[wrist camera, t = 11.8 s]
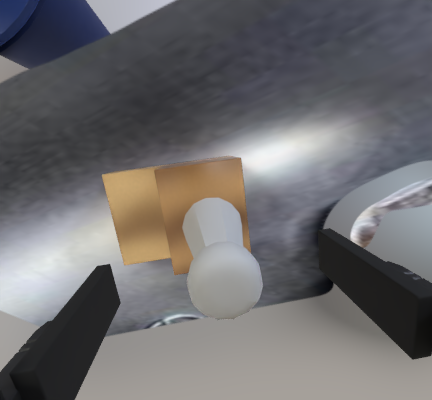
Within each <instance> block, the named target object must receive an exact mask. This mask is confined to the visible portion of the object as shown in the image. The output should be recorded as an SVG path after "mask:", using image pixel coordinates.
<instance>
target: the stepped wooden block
mask: <svg viewBox="0 0 432 400" xmlns="http://www.w3.org/2000/svg"><path fill="white" fill-rule="evenodd" d="M102 178H103V182H104V186H105V190H106V194H107V198H108V202H109V206H110V210H111V214H112V218H113V222H114V226H115V230H116V234H117V238H118V242H119V246H120V250H121V254H122V258H123V262H124V265H130V264H136V263H142V262H148V261H154V260H161V259H167V258H171V260H172V265H173V271H174V275H178V274H184V273H189V269H190V265H191V261H192V260H193V259H194V258H193V256H192V253H191V250H190V248H189V246H188V243H187V241H186V238H185V235H184V232H183V229H182V226H183V222H184V218H185V214H186V213H187V212H188V211H189V209H190V208H191V207H192V205H193V204H194V203H196V202H198V201H200V200H203V199H205V198H221V199H223V200H225V201H227V202H229V203H231V204H232V205H233V206H234V207H235V209H236V210H237V211H238V212H239V214H240V218H241V223H242V233H243V247H245V248H246V249H247V250H248V251H249V252H250V253H251V249H250V239H249V230H248V220H247V211H246V201H245V191H244V182H243V172H242V163H241V158H238V157H233V156H225V157H217V158H210V159H203V160H196V161H189V162H181V163H174V164H167V165H160V166H152V167H145V168H138V169H131V170H124V171H116V172H111V173H107V174H103V175H102Z"/></svg>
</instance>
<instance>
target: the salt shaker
mask: <svg viewBox="0 0 432 400" xmlns="http://www.w3.org/2000/svg"><path fill="white" fill-rule="evenodd" d="M182 229H183V232H184V235H185V238H186V241H187V243H188V246H189V248H190V250H191V253H192V256H193V258H194V259H193V260H192V261H191V265H190V269H189V273H188V278H187V286H188V290H189V294H190V297H191V300H192V304H193V305H194V306H195V307H196V308H197V309H198V310H199V311H200V312H201V313H202V314H203V315H206V316H209V317H212V318H215V319H218V320H219V319H234V318H236V317H238V316H240V315H243V314H245V313H247V312H248V311H249V310H250V309H251V308H252V307H253V306H254V305H255V304H256V303H257V302H258V301H259V298H260V295H261V291H262V288H263V283H262V277H261V272H260V267H259V264H258V262H257V261H256V259H255V258H254V257H253V256H252V254H251V253H250V252H249V251H248V250H247V249H246V248H245V247H243V233H242V223H241V218H240V214H239V212H238V211H237V210H236V209H235V207H234V206H233V205H232V204H231V203H229V202H227V201H225V200H223V199H221V198H205V199H203V200H200V201H198V202H196V203H194V204H193V205H192V207H191V208H190V209H189V211H188V212H187V213H186V214H185V218H184V222H183V226H182Z"/></svg>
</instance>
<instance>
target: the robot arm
mask: <svg viewBox="0 0 432 400" xmlns="http://www.w3.org/2000/svg"><path fill="white" fill-rule="evenodd" d="M318 233H319V269H320V270H321V271H322V272H323V273H324V274H325V275H326V276H327V277H328V278H329V279H331V280H332V281H333V282H334V283H335V284H336V285H337V286H338V287H339V288H340V289H341V290H342V291H343V292H344V293H345V294H346V295H347V296H348V297H349V298H350V299H351V300H352V301H353V302H354V303H355V304H356V305H357V306H358V307H359V308H360V309H361V310H362V311H363V312H364V313H365V314H367V316H368V317H369V318H371V319H372V320H373V321H374V322H375V323H376V324H377V325H378V326H379V327H380V328H381V329H382V330H383V331H384V332H385V333H386V334H387V335H388V336H389V337H390V338H391V339H392V340H393V341H394V342H395V343H396V344H397V345H398V346H399V347H400V348H401V349H402V350H403V351H404V352H405V353H406V354H408V356H409V357H411V358H412V359H418V358H422V357H428V356H431V354H432V283H430V282H429V281H427V280H425V279H422V278H421V277H420V276H418V275H416V274H415V273H412V272H411V271H409V270H408V269H406V268H404V267H403V266H400V265H398V264H395V263H392V262H389V261H388V262H385V261H383V260H382V259H380V258H378V257H377V256H375V255H373V254H372V253H370V252H368V251H367V250H365V249H363V248H362V247H360V246H358V245H357V244H355V243H353V242H352V241H350V240H348V239H347V238H345V237H343V236H342V235H340V234H338V233H337V232H335V231H333V230H332V229H330V228H329V229H323V230H318ZM119 305H120V299H119V295H118V292H117V288H116V284H115V281H114V277H113V273H112V269H111V266H110V264H107V265H101V266H97V267H96V268H95V269H94V271H93V272H92V273H91V274H90V276H89V277H88V278H87V279H86V280H85V282H84V283H83V284H82V285H81V286H80V288H79V289H78V290H77V291H76V293H75V294H74V295H73V296H72V297H71V299H70V300H69V301H68V302H67V304H66V305H65V306H64V307H63V308H62V310H61V311H60V312H59V313H58V315H57V316H56V317H55V318H54V319H53V321H48V322H47V323H45V324H44V325H43V326H41V327H40V328H39V329H38V330H36V331H35V332H34V334H33V335H32V336H31V337H30V338H29V339H28V340H27V343H26V344H24V345H23V346H22V347H21V349H20V350H19V352H18V353H16V354H15V355H14V357H13V358H12V359H11V360H10V361H9V362H8V364H7V365H6V366H5V367H4V368H3V369H2V371H1V372H0V400H75V398H76V396H77V394H78V392H79V389H80V387H81V385H82V383H83V381H84V379H85V377H86V375H87V373H88V370H89V368H90V366H91V364H92V362H93V360H94V358H95V356H96V353H97V352H98V349H99V347H100V345H101V343H102V341H103V339H104V337H105V335H106V333H107V330H108V328H109V326H110V324H111V322H112V320H113V318H114V316H115V314H116V312H117V309H118V307H119Z"/></svg>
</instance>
